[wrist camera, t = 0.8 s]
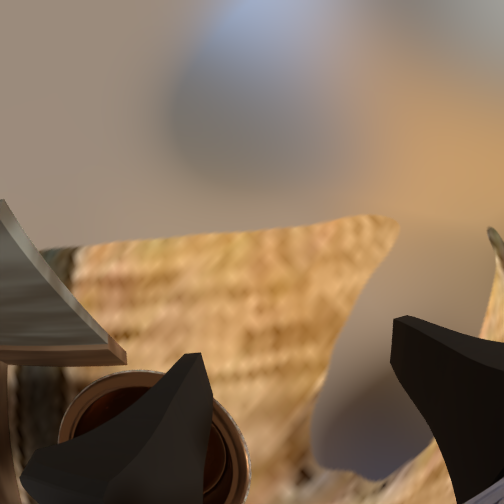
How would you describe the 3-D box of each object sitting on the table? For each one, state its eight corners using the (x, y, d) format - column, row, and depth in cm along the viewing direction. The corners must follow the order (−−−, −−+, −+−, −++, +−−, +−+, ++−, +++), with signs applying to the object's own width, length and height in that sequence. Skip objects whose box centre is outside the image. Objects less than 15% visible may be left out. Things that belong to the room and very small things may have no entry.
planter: (142, 521, 15) (104, 559, 7) (93, 409, 20) (34, 392, 12) (263, 483, 18) (289, 512, 10) (207, 373, 23) (200, 340, 15)
